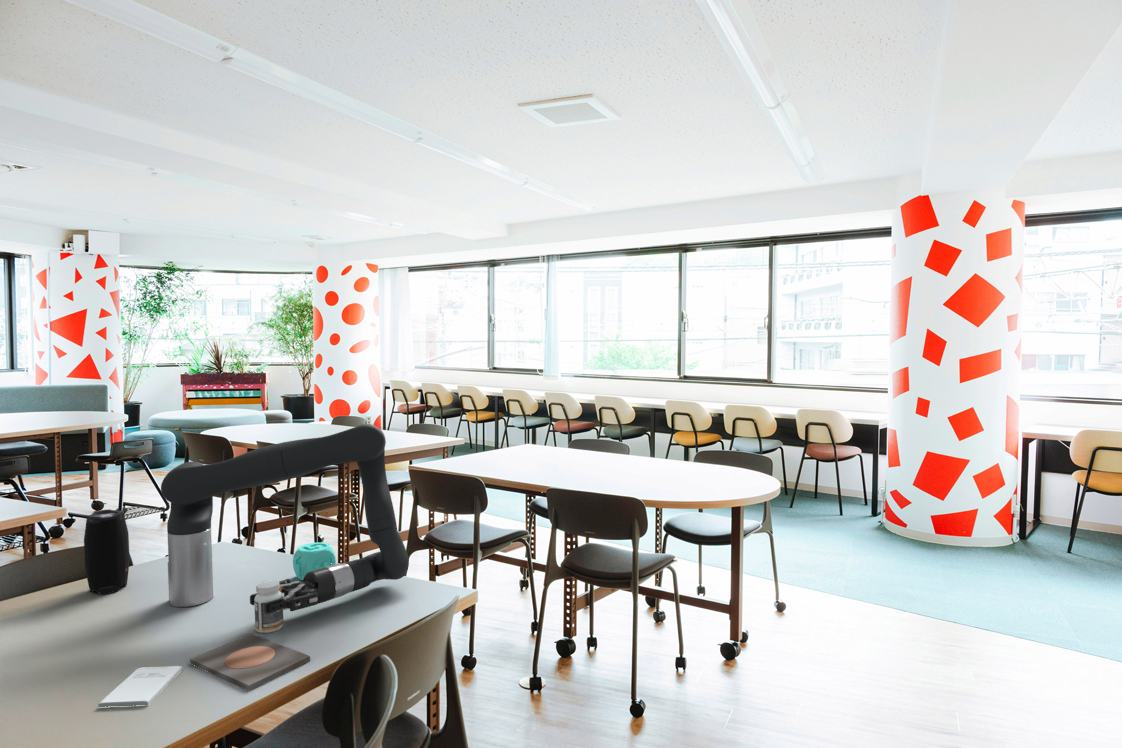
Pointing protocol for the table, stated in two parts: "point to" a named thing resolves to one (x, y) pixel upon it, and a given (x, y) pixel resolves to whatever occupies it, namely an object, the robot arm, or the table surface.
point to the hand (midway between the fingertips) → (257, 604)
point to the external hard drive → (141, 686)
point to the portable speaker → (106, 551)
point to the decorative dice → (312, 558)
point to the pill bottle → (262, 620)
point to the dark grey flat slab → (250, 661)
